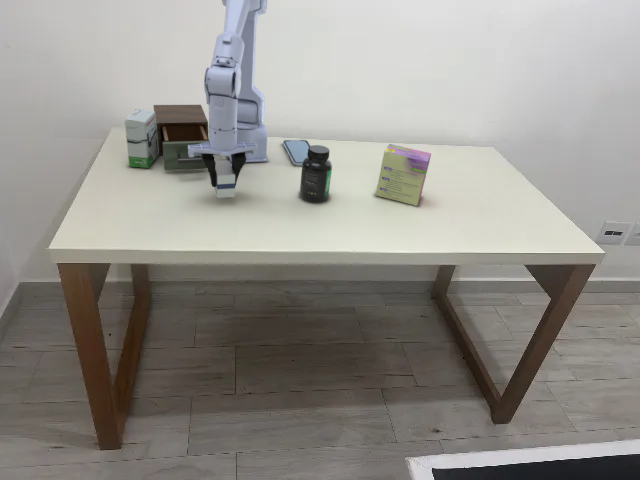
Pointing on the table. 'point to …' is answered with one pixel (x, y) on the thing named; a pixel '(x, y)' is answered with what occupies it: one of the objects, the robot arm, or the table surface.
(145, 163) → the ink box
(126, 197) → the table surface
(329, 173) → the supplement bottle
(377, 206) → the table surface
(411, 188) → the box
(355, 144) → the table surface
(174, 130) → the drawer
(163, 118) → the cabinet
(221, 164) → the white blue carton
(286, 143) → the smartphone
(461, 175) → the table surface
